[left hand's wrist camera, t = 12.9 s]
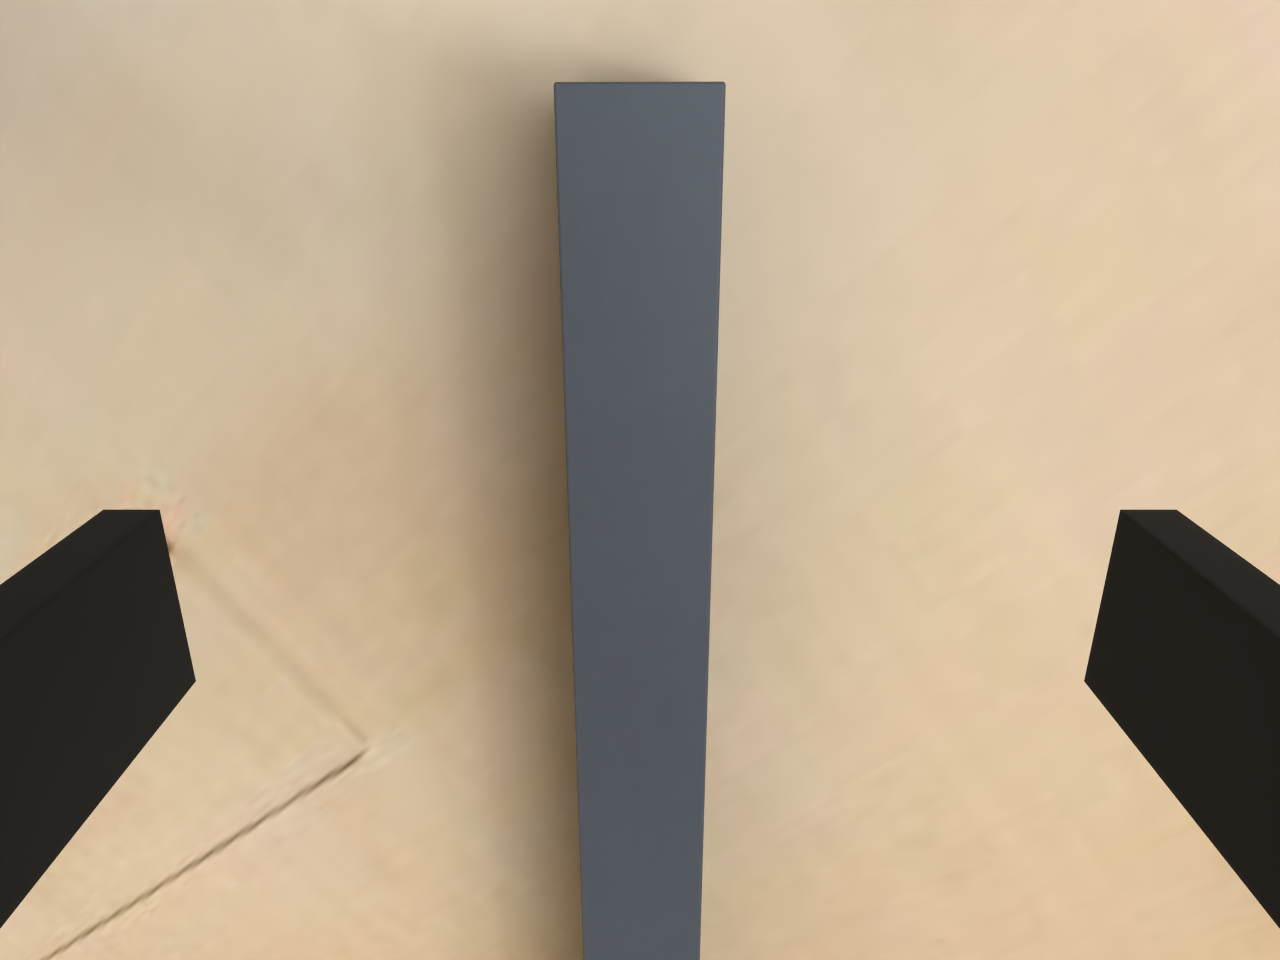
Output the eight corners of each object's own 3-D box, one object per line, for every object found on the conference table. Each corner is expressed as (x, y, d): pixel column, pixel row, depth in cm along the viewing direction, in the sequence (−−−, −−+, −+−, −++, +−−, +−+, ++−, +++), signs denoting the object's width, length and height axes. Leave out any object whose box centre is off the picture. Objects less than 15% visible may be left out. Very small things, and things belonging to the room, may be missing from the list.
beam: (573, 90, 34) (553, 81, 26) (706, 89, 34) (725, 81, 26) (602, 1173, 57) (596, 1336, 49) (682, 1173, 57) (688, 1336, 49)
